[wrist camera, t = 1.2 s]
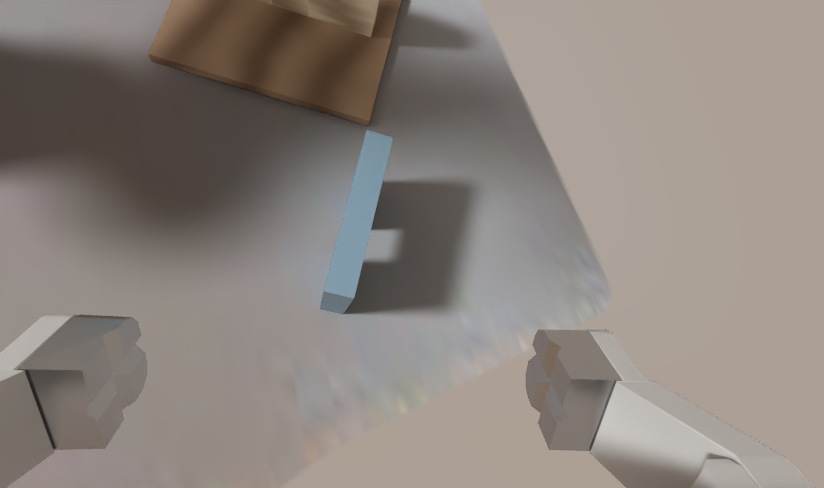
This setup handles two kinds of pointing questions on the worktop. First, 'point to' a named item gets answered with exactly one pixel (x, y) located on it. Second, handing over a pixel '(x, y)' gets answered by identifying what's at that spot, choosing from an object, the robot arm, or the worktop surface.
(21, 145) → the worktop surface
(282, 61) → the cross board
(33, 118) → the worktop surface
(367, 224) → the slotted plate
